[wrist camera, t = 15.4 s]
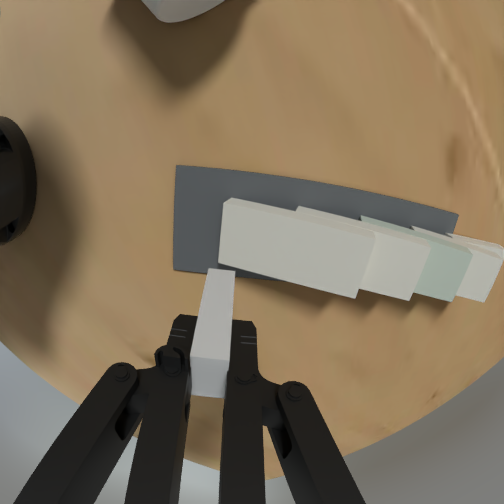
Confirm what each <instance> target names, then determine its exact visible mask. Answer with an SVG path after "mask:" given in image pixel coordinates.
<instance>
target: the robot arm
mask: <svg viewBox="0 0 504 504" xmlns="http://www.w3.org/2000/svg"><path fill="white" fill-rule="evenodd" d="M35 199H36V174H35V167H34V161H33V157H32V153H31V150H30V147H29V144H28V142H27V139H26V137H25V135H24V134H23V132H22V130H21V129H20V128H19V126H18V125H17V124H16V123H15V122H14V121H12V120H11V119H9V118H7V117H3V116H0V245H4V244H6V243H8V242H10V241H12V240H13V239H14V238H16V237H17V236H18V235H20V234H21V233H22V232H23V231H24V230H25V229H26V227H27V226H28V224H29V222H30V220H31V217H32V214H33V210H34V206H35ZM234 282H235V271H230V270H221V269H212V268H209V269H208V273H207V278H206V282H205V287H204V291H203V296H202V300H201V305H200V309H199V314H198V316H191V315H184V314H180V315H179V316H178V317H177V318H176V319H175V320H174V322H173V325H172V329H171V331H170V336H169V338H168V342H167V345H164V346H161V347H160V348H158V349H157V350H156V352H155V354H154V355H155V362H156V366H154V367H152V368H147V369H137V370H136V369H135V368H134V366H132V365H131V364H129V363H125V362H121V363H116V364H113V365H112V366H111V367H109V368H108V370H107V371H106V372H105V373H104V375H103V376H102V377H101V379H100V380H99V381H98V383H97V384H96V385H95V387H94V388H93V389H92V390H91V392H90V393H89V394H88V396H87V397H86V398H85V400H84V401H83V403H82V404H81V405H80V407H79V408H78V409H77V411H76V412H75V413H74V415H73V416H72V418H71V419H70V420H69V422H68V423H67V424H66V426H65V427H64V429H63V430H62V431H61V433H60V434H59V436H58V437H57V439H56V440H55V441H54V443H53V444H52V446H51V447H50V448H49V450H48V451H47V453H46V454H45V456H44V457H43V459H42V460H41V462H40V463H39V465H38V466H37V468H36V469H35V471H34V472H33V474H32V475H31V477H30V478H29V480H28V481H27V483H26V484H25V486H24V487H23V489H22V491H21V493H20V494H19V495H18V497H17V498H16V500H15V502H14V503H13V504H94V502H95V501H96V499H97V497H98V495H99V493H100V492H101V490H102V488H103V486H104V484H105V483H106V481H107V479H108V477H109V476H110V474H111V472H112V471H113V469H114V467H115V465H116V463H117V462H118V460H119V458H120V457H121V455H122V453H123V451H124V449H125V448H126V446H127V444H128V443H129V441H130V439H131V437H132V436H133V434H134V432H135V430H136V429H137V427H138V425H139V423H140V422H141V420H142V423H141V427H140V431H139V436H138V440H137V444H136V449H135V453H134V458H133V462H132V467H131V472H130V477H129V482H128V487H127V492H126V497H125V503H124V504H178V501H179V491H180V482H181V473H182V465H183V457H184V449H185V441H186V433H187V426H188V419H189V412H190V397H191V395H198V396H206V397H215V398H224V409H223V425H222V443H221V461H220V483H219V504H266V501H265V474H264V449H263V425H264V426H267V428H268V431H269V434H270V436H271V439H272V442H273V445H274V448H275V450H276V453H277V456H278V459H279V461H280V464H281V467H282V469H283V472H284V475H285V477H286V480H287V483H288V485H289V488H290V490H291V493H292V496H293V498H294V501H295V503H296V504H366V503H365V501H364V500H363V497H362V495H361V494H360V491H359V490H358V487H357V485H356V483H355V481H354V480H353V477H352V475H351V473H350V471H349V470H348V467H347V465H346V464H345V461H344V459H343V457H342V455H341V453H340V451H339V449H338V447H337V445H336V443H335V441H334V439H333V437H332V435H331V433H330V431H329V429H328V427H327V425H326V423H325V421H324V419H323V417H322V415H321V413H320V411H319V409H318V407H317V404H316V402H315V400H314V398H313V396H312V394H311V392H310V390H309V389H308V388H307V386H305V385H304V384H302V383H300V382H296V381H288V382H286V383H283V384H282V385H279V384H276V383H272V382H270V381H268V380H266V379H265V378H263V377H262V376H261V374H260V373H259V370H258V358H257V333H256V327H255V326H254V324H253V322H252V321H243V320H232V312H233V297H234ZM142 418H143V419H142Z"/></svg>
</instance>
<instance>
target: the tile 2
mask: <svg viewBox="0 0 504 504" xmlns="http://www.w3.org/2000/svg"><path fill="white" fill-rule="evenodd" d="M296 212H300V213H304V214H309V215H313V216H317V217H321V218H325V219H329V220H333V221H337V222H341V223H345V224H349V225H352V226H356V227H360V228H364V229H367V230H371V231H374V235H375V238H376V240H375V244H374V247H373V250H372V253H371V256H370V259H369V262H368V265H367V268H366V271H365V274H364V276H363V279H362V282H361V285H360V287H359V289H363V290H367V291H371V292H375V293H379V294H383V295H387V296H391V297H395V298H399V299H403V300H407V301H409V300H410V298H411V296H412V294H413V292H414V289H415V287H416V285H417V282H418V280H419V278H420V275H421V273H422V271H423V268H424V266H425V263H426V261H427V258H428V255H429V253H430V250H431V246H430V245H429V243H428V242H427V240H425V239H422V238H419V237H415V236H412V235H409V234H405V233H402V232H398V231H395V230H391V229H388V228H384V227H381V226H377V225H373V224H370V223H366V222H362V221H358V220H355V219H351V218H347V217H343V216H339V215H335V214H331V213H327V212H323V211H319V210H315V209H310V208H306V207H302V206H298V208H297V209H296Z"/></svg>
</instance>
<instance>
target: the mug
mask: <svg viewBox="0 0 504 504" xmlns="http://www.w3.org/2000/svg"><path fill="white" fill-rule="evenodd" d="M141 1H142V2H143V3H144V4H145V5H146V6H147V7H148V8H149V10H150V11H151V12H152V13H153V14H154V15H155V16H156V18H157V19H159V20H160V21H163V22H167V23H173V22H180V21H184V20H187V19H190V18H193V17H195V16H198V15H200V14H202V13H204V12H206V11H208V10H210V9H212V8H214V7H215V6H217V5H219V4H220V3H222V2H223V1H225V0H141Z"/></svg>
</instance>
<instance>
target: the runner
mask: <svg viewBox="0 0 504 504" xmlns="http://www.w3.org/2000/svg"><path fill="white" fill-rule="evenodd" d="M230 198H237V199H241V200H246V201H251V202H256V203H260V204H265V205H270V206H274V207H278V208H283V209H287V210H292V211H296V209H297V208H298V206H302V207H306V208H310V209H315V210H319V211H323V212H327V213H331V214H335V215H339V216H343V217H347V218H351V219H355V220H358V221H359V220H360V216H361V215H362V216H365V217H369V218H373V219H377V220H380V221H384V222H387V223H391V224H394V225H398V226H401V227H405V228H408V229H411V226H415V227H418V228H422V229H425V230H428V231H432V232H435V233H438V234H441V235H444V236H445V233H450V234H453V231H454V228H455V225H456V222H457V219H458V216H459V215H458V214H455V213H452V212H448V211H445V210H441V209H437V208H434V207H430V206H426V205H422V204H419V203H415V202H411V201H407V200H403V199H398V198H394V197H390V196H386V195H381V194H377V193H372V192H367V191H363V190H358V189H353V188H348V187H343V186H337V185H332V184H326V183H321V182H315V181H309V180H303V179H297V178H290V177H283V176H276V175H269V174H262V173H254V172H246V171H237V170H228V169H218V168H207V167H196V166H183V165H177V166H176V178H175V198H174V234H173V269H174V270H182V271H191V272H199V273H208V269H209V268H212V269H221V270H230V271H235V277H245V278H255V279H265V280H275V281H284V280H280V279H277V278H273V277H269V276H265V275H262V274H258V273H254V272H250V271H247V270H243V269H239V268H236V267H232V266H228V265H225V264H221V263H218V258H219V246H220V235H221V224H222V214H223V203H224V202H226V201H227V200H229V199H230ZM285 282H288V281H285Z"/></svg>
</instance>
